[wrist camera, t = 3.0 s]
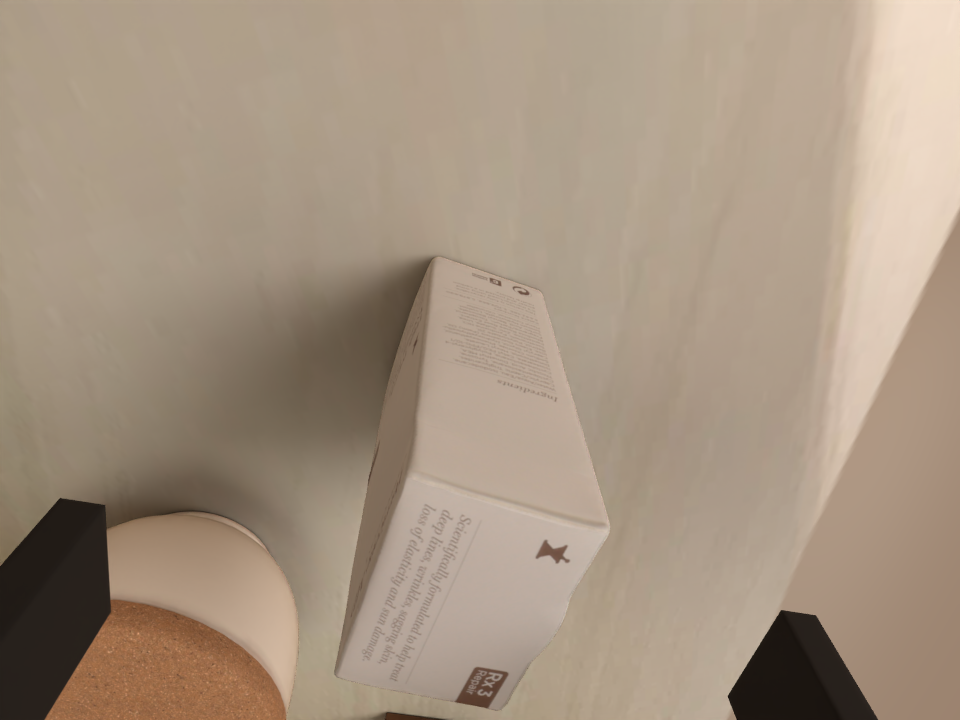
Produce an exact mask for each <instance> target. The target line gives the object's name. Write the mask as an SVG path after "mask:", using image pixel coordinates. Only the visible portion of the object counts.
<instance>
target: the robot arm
mask: <svg viewBox="0 0 960 720" xmlns="http://www.w3.org/2000/svg"><path fill="white" fill-rule="evenodd" d="M110 613H111V601H110V583H109V565H108V547H107V529H106V511H105V505H101V504H94V503H88V502H82V501H75V500H69V499H62V498H60V499H59V500H58V501H57V502H56V503H55V505H54V506H53V507H52V508H51V509H50V510H49V511H48V513H47V514H46V515H45V516H44V517H43V518H42V519H41V520H40V522H39V523H38V524H37V525H36V526H35V527H34V528H33V530H32V531H31V532H30V533H29V534H28V535H27V536H26V538H25V539H24V540H23V541H22V542H21V543H20V544H19V546H18V547H17V548H16V549H15V550H14V551H13V552H12V554H11V555H10V556H9V557H8V558H7V559H6V560H5V561H4V563H3V564H2V565H1V566H0V720H45V718H46V717H47V715H48V713H49V712H50V710H51V709H52V707H53V705H54V704H55V702H56V700H57V699H58V697H59V696H60V694H61V692H62V691H63V689H64V687H65V686H66V684H67V683H68V681H69V679H70V678H71V676H72V674H73V673H74V671H75V670H76V668H77V666H78V665H79V663H80V662H81V660H82V658H83V657H84V655H85V653H86V652H87V650H88V649H89V647H90V645H91V644H92V642H93V640H94V639H95V637H96V636H97V634H98V632H99V631H100V629H101V627H102V626H103V624H104V623H105V621H106V619H107V618H108V616H109V615H110ZM728 698H729V701H730V704H731V706H732V709H733V711H734V714H735V716H736V719H737V720H878V719H877V717H876V715H875V714H874V712H873V710H872V709H871V707H870V705H869V704H868V702H867V700H866V699H865V697H864V695H863V694H862V692H861V690H860V689H859V687H858V685H857V684H856V682H855V680H854V679H853V677H852V675H851V674H850V672H849V670H848V669H847V667H846V665H845V664H844V662H843V660H842V658H841V657H840V655H839V653H838V652H837V650H836V648H835V647H834V645H833V643H832V642H831V640H830V638H829V637H828V635H827V634H826V632H825V630H824V628H823V627H822V625H821V623H820V622H819V620H818V618H817V617H816V615H809V614H803V613H796V612H790V611H784V610H781V611H780V613H779V615H778V616H777V618H776V619H775V621H774V623H773V624H772V626H771V627H770V629H769V631H768V632H767V634H766V635H765V637H764V639H763V640H762V642H761V643H760V645H759V647H758V648H757V650H756V651H755V653H754V655H753V656H752V658H751V659H750V661H749V663H748V664H747V666H746V667H745V669H744V671H743V672H742V674H741V675H740V677H739V679H738V680H737V682H736V683H735V685H734V687H733V688H732V690H731V692H730V693H729V695H728Z"/></svg>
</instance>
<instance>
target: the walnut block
mask: <svg viewBox="0 0 960 720" xmlns="http://www.w3.org/2000/svg"><path fill="white" fill-rule="evenodd" d="M385 720H439V719H432V718H424V717H417V716H409V715H401V714H394V713H387V714H386V717H385Z"/></svg>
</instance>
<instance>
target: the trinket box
mask: <svg viewBox="0 0 960 720" xmlns="http://www.w3.org/2000/svg"><path fill="white" fill-rule="evenodd" d="M107 547H108V565H109V583H110V601H111V613H110V615H109V616H108V618H107V619H106V621H105V623H104V624H103V626H102V627H101V629H100V631H99V632H98V634H97V636H96V637H95V639H94V640H93V642H92V644H91V645H90V647H89V649H88V650H87V652H86V653H85V655H84V657H83V658H82V660H81V662H80V663H79V665H78V666H77V668H76V670H75V671H74V673H73V674H72V676H71V678H70V679H69V681H68V683H67V684H66V686H65V687H64V689H63V691H62V692H61V694H60V696H59V697H58V699H57V700H56V702H55V704H54V705H53V707H52V709H51V710H50V712H49V713H48V715H47V717H46V718H45V720H286V716H287V713H288V709H289V705H290V701H291V696H292V692H293V687H294V682H295V677H296V670H297V662H298V655H299V620H298V614H297V608H296V604H295V600H294V596H293V593H292V590H291V588H290V586H289V583H288V581H287V579H286V577H285V575H284V573H283V571H282V570H281V568H280V567H279V565H278V564H277V563H276V561H275V560H274V559H273V558H272V556H271V555H270V554H269V552H268V550H267V549H266V547H265V546H264V544H263V543H262V542H261V541H260V540H259V539H258V538H257V537H256V536H255V535H254V534H253V533H252V532H250V531H249V530H248V529H247V528H245V527H243V526H242V525H240V524H238V523H236V522H234V521H232V520H230V519H227V518H225V517H222V516H218V515H215V514H210V513H205V512H193V511H189V512H178V513H172V514H168V515H157V516H149V517H144V518H138V519H135V520H131V521H128V522H125V523H122V524H119V525H116V526H114V527H111V528H108V529H107Z"/></svg>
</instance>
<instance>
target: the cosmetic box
mask: <svg viewBox="0 0 960 720" xmlns="http://www.w3.org/2000/svg"><path fill="white" fill-rule="evenodd" d="M609 531H610V524H609V519H608V515H607V512H606V509H605V506H604V502H603V499H602V495H601V492H600V489H599V485H598V482H597V478H596V475H595V471H594V468H593V464H592V461H591V457H590V454H589V451H588V448H587V444H586V441H585V437H584V434H583V431H582V427H581V424H580V421H579V417H578V414H577V411H576V407H575V404H574V401H573V397H572V394H571V390H570V387H569V383H568V380H567V377H566V374H565V370H564V366H563V363H562V360H561V356H560V352H559V349H558V346H557V342H556V339H555V335H554V332H553V328H552V325H551V321H550V318H549V315H548V311H547V308H546V305H545V301H544V298H543V295H542V293H541V292H540V291H539V290H537V289H534V288H531V287H528V286H525V285H522V284H519V283H516V282H513V281H510V280H508V279H505V278H501V277H498V276H495V275H493V274H490V273H487V272H484V271H481V270H478V269H475V268H472V267H469V266H467V265H464V264H461V263H457V262H454V261H451V260H449V259H446V258H443V257H435V258H433V259H432V261H431V263H430V264H429V266H428V269H427V271H426V273H425V276H424V278H423V281H422V283H421V286H420V288H419V290H418V293H417V295H416V298H415V301H414V303H413V306H412V309H411V311H410V314H409V317H408V320H407V323H406V326H405V329H404V332H403V335H402V338H401V341H400V344H399V347H398V351H397V354H396V357H395V361H394V364H393V367H392V371H391V374H390V378H389V382H388V385H387V389H386V393H385V399H384V404H383V409H382V414H381V420H380V425H379V430H378V435H377V441H376V446H375V451H374V457H373V462H372V467H371V472H370V475H369V480H368V488H367V493H366V498H365V504H364V509H363V515H362V520H361V525H360V530H359V536H358V541H357V547H356V552H355V558H354V563H353V569H352V575H351V581H350V588H349V595H348V601H347V608H346V614H345V619H344V625H343V630H342V636H341V641H340V646H339V651H338V656H337V661H336V666H335V670H334V673H335V676H336V677H338V678H341V679H344V680H348V681H351V682H355V683H360V684H364V685H368V686H373V687H378V688H383V689H388V690H393V691H398V692H404V693H409V694H415V695H420V696H425V697H430V698H435V699H440V700H446V701H452V702H457V703H462V704H468V705H473V706H479V707H484V708H488V709H492V710H502V709H503V708H504V707H505V706H506V704H507V703H508V701H509V699H510V697H511V696H512V694H513V692H514V691H515V689H516V687H517V686H518V684H519V682H520V681H521V679H522V677H523V676H524V674H525V672H526V671H527V669H528V667H529V665H530V664H531V662H532V661H533V660H534V659H535V658H536V657H537V656H538V655H539V654H540V653H541V652H542V651H543V650H544V649H545V648H546V647H547V645H548V644H549V643H550V642H551V640H552V639H553V637H554V636H555V634H556V632H557V631H558V630H559V628H560V626H561V624H562V622H563V620H564V617H565V615H566V612H567V609H568V604H569V601H570V598H571V596H572V594H573V593H574V591H575V589H576V587H577V586H578V584H579V582H580V581H581V579H582V577H583V576H584V574H585V572H586V571H587V569H588V568H589V566H590V564H591V563H592V561H593V559H594V558H595V556H596V554H597V553H598V551H599V550H600V548H601V546H602V545H603V543H604V541H605V540H606V538H607V537H608V534H609Z"/></svg>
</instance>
